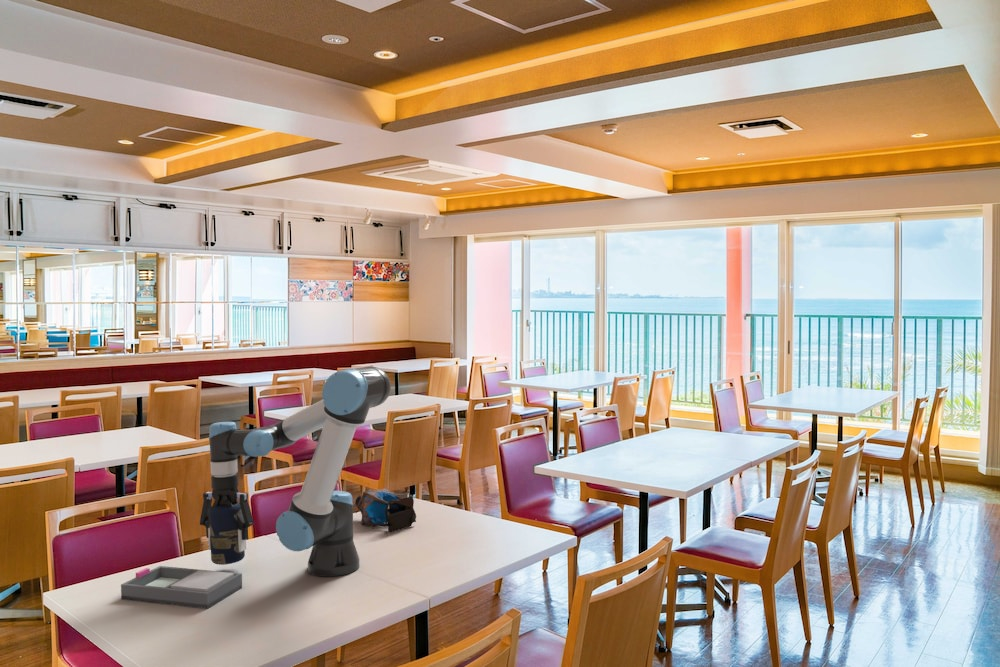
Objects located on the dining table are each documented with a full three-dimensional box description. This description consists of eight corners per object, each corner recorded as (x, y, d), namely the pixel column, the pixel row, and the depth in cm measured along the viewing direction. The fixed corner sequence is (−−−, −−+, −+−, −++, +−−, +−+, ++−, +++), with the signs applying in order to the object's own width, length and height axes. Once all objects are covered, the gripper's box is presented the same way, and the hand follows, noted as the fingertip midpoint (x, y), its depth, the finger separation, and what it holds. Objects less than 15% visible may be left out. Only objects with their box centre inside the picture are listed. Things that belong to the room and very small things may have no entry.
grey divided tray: (242, 587, 206) (241, 569, 206) (207, 608, 192) (207, 589, 192) (160, 579, 213) (159, 561, 213) (121, 599, 199) (120, 580, 199)
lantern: (405, 547, 261) (358, 530, 276) (427, 506, 268) (380, 492, 284) (379, 525, 250) (332, 509, 266) (403, 484, 258) (356, 471, 273)
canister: (233, 567, 214) (231, 505, 213) (204, 566, 216) (201, 505, 215) (251, 556, 223) (248, 497, 223) (222, 555, 225) (220, 497, 225)
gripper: (264, 472, 220) (267, 547, 220) (200, 470, 225) (203, 543, 226) (249, 478, 212) (253, 555, 213) (184, 476, 218) (187, 551, 219)
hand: (227, 549), depth 219 cm, fingers closed on canister, 9 cm apart
